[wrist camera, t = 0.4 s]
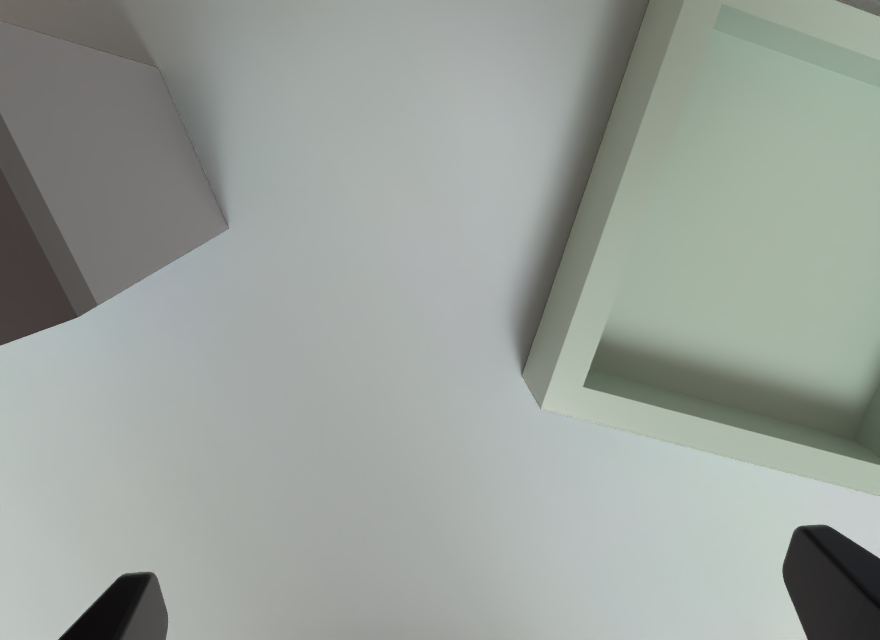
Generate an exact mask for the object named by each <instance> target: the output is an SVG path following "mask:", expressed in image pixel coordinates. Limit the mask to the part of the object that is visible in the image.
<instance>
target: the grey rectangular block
mask: <svg viewBox="0 0 880 640" xmlns="http://www.w3.org/2000/svg"><path fill="white" fill-rule="evenodd" d="M227 229H229V228H228V226H227V223H226V221H225V219H224V216H223V214H222V212H221V210H220V207H219V205H218V203H217V201H216V198H215V196H214V194H213V191H212V189H211V187H210V185H209V182H208V180H207V178H206V175H205V173H204V171H203V169H202V166H201V164H200V162H199V159H198V157H197V155H196V153H195V150H194V148H193V146H192V143H191V141H190V139H189V137H188V134H187V132H186V130H185V127H184V125H183V123H182V121H181V118H180V116H179V114H178V112H177V109H176V107H175V105H174V102H173V100H172V98H171V96H170V93H169V91H168V89H167V86H166V84H165V82H164V80H163V77H162V75H161V73H160V70H159V68H156V67H153V66H150V65H146V64H143V63H140V62H136V61H133V60H130V59H126V58H123V57H120V56H116V55H113V54H110V53H106V52H103V51H100V50H96V49H93V48H89V47H86V46H83V45H79V44H76V43H73V42H69V41H66V40H63V39H59V38H56V37H53V36H49V35H46V34H43V33H39V32H36V31H33V30H29V29H26V28H23V27H19V26H16V25H13V24H9V23H6V22H3V21H0V345H3V344H6V343H9V342H11V341H14V340H17V339H20V338H22V337H25V336H28V335H31V334H33V333H36V332H39V331H42V330H44V329H47V328H50V327H53V326H55V325H58V324H61V323H64V322H66V321H69V320H72V319H75V318H77V317H79V316H81V315H83V314H84V313H86V312H88V311H89V310H91V309H93V308H95V307H96V306H98V305H100V304H101V303H103V302H105V301H106V300H108V299H110V298H112V297H113V296H115V295H117V294H118V293H120V292H122V291H124V290H125V289H127V288H129V287H130V286H132V285H134V284H135V283H137V282H139V281H141V280H142V279H144V278H146V277H147V276H149V275H151V274H152V273H154V272H156V271H158V270H159V269H161V268H163V267H164V266H166V265H168V264H170V263H171V262H173V261H175V260H176V259H178V258H180V257H181V256H183V255H185V254H187V253H188V252H190V251H192V250H193V249H195V248H197V247H198V246H200V245H202V244H204V243H205V242H207V241H209V240H210V239H212V238H214V237H216V236H217V235H219V234H221V233H222V232H224V231H226V230H227Z"/></svg>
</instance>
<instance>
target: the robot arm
mask: <svg viewBox="0 0 880 640" xmlns="http://www.w3.org/2000/svg"><path fill="white" fill-rule="evenodd" d="M783 579H784V582H785V585H786V588H787V590H788V593H789V595H790V598H791V600H792V602H793V605H794V607H795V610H796V612H797V615H798V617H799V620H800V622H801V624H802V627H803V629H804V632H805V634H806V637H807V639H808V640H880V558H878V557H877V556H875V555H873V554H872V553H870V552H869V551H867V550H866V549H864V548H863V547H861V546H859V545H858V544H856V543H855V542H853V541H852V540H850V539H849V538H847V537H845V536H844V535H842V534H841V533H839V532H838V531H836V530H835V529H833V528H831V527H829V526H827V525H808V526H800V527H798V528H796V529H795V530H794V532H793V535H792V538H791V541H790V544H789V547H788V550H787V554H786V557H785V560H784V563H783ZM167 628H168V614H167V609H166V606H165V602H164V599H163V596H162V592H161V589H160V585H159V582H158V579H157V577H156V575H155V574H154V573H153V572H138V573H126V574H123V575H122V576H120V577H119V578H118V579H116V581H115V582H114V583H113V584H112V585H111V586H110V587H109V588H108V589H107V590H106V591H105V592H104V593H103V594H102V595H101V596H100V597H99V598H98V599H97V600H96V601H95V602H94V603H93V604H92V605H91V606H90V607H89V608H88V609H87V610H86V611H85V612H84V613H83V614H82V616H81V617H80V618H79V619H78V620H77V621H76V622H75V623H74V624H73V625H72V626H71V627H70V628H69V629H68V630H67V631H66V632H65V633H64V634H63V635H62V636H61V637H60V638H59V639H58V640H166V635H167Z"/></svg>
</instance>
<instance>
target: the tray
mask: <svg viewBox="0 0 880 640" xmlns="http://www.w3.org/2000/svg"><path fill="white" fill-rule="evenodd" d="M522 377H523V379H524V381H525V383H526V384H527V386H528V388H529V390H530V391H531V393H532V395H533V397H534V399H535V400H536V402H537V404H538V406H539V407H540V409H541V410H545V411H549V412H553V413H557V414H561V415H565V416H569V417H572V418H576V419H580V420H584V421H588V422H592V423H596V424H600V425H604V426H608V427H611V428H615V429H619V430H623V431H627V432H631V433H635V434H639V435H643V436H647V437H650V438H654V439H658V440H662V441H666V442H670V443H674V444H678V445H682V446H686V447H690V448H693V449H697V450H701V451H705V452H709V453H713V454H717V455H721V456H725V457H729V458H732V459H736V460H740V461H744V462H748V463H752V464H756V465H760V466H764V467H768V468H772V469H775V470H779V471H783V472H787V473H791V474H795V475H799V476H803V477H807V478H811V479H814V480H818V481H822V482H826V483H830V484H834V485H838V486H842V487H846V488H850V489H854V490H857V491H861V492H865V493H869V494H873V495H877V496H880V17H879V16H877V15H874V14H871V13H868V12H866V11H863V10H860V9H858V8H855V7H852V6H850V5H847V4H844V3H841V2H839V1H836V0H650V1H649V4H648V6H647V9H646V12H645V15H644V18H643V21H642V24H641V27H640V30H639V33H638V36H637V39H636V42H635V45H634V48H633V50H632V53H631V56H630V59H629V62H628V65H627V68H626V71H625V74H624V77H623V80H622V83H621V86H620V89H619V92H618V95H617V97H616V100H615V103H614V106H613V109H612V112H611V115H610V118H609V121H608V124H607V127H606V130H605V133H604V136H603V139H602V142H601V144H600V147H599V150H598V153H597V156H596V159H595V162H594V165H593V168H592V171H591V174H590V177H589V180H588V183H587V186H586V188H585V191H584V194H583V197H582V200H581V203H580V206H579V209H578V212H577V215H576V218H575V221H574V224H573V227H572V230H571V233H570V235H569V238H568V241H567V244H566V247H565V250H564V253H563V256H562V259H561V262H560V265H559V268H558V271H557V274H556V277H555V280H554V282H553V285H552V288H551V291H550V294H549V297H548V300H547V303H546V306H545V309H544V312H543V315H542V318H541V321H540V324H539V327H538V329H537V332H536V335H535V338H534V341H533V344H532V347H531V350H530V353H529V356H528V359H527V362H526V365H525V368H524V371H523V373H522Z"/></svg>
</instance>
